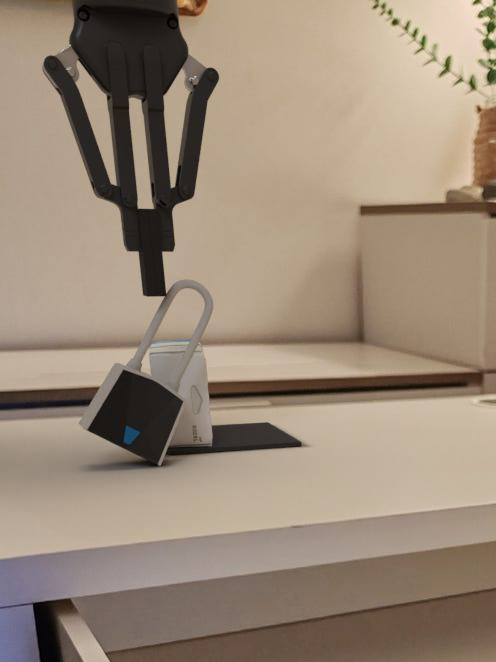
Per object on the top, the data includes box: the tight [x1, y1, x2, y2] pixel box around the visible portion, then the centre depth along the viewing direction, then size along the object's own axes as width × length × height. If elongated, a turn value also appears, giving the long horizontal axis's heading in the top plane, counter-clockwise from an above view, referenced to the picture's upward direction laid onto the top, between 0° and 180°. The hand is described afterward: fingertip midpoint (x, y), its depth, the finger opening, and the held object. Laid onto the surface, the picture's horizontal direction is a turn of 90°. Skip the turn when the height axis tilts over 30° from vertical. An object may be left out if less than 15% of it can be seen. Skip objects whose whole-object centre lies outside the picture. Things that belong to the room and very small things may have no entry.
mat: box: [166, 421, 302, 456], centre depth 100 cm, size 13×12×1 cm
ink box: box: [148, 339, 213, 447], centre depth 97 cm, size 9×5×12 cm
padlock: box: [78, 279, 214, 467], centre depth 86 cm, size 7×4×15 cm
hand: (154, 295), depth 84 cm, fingers closed
